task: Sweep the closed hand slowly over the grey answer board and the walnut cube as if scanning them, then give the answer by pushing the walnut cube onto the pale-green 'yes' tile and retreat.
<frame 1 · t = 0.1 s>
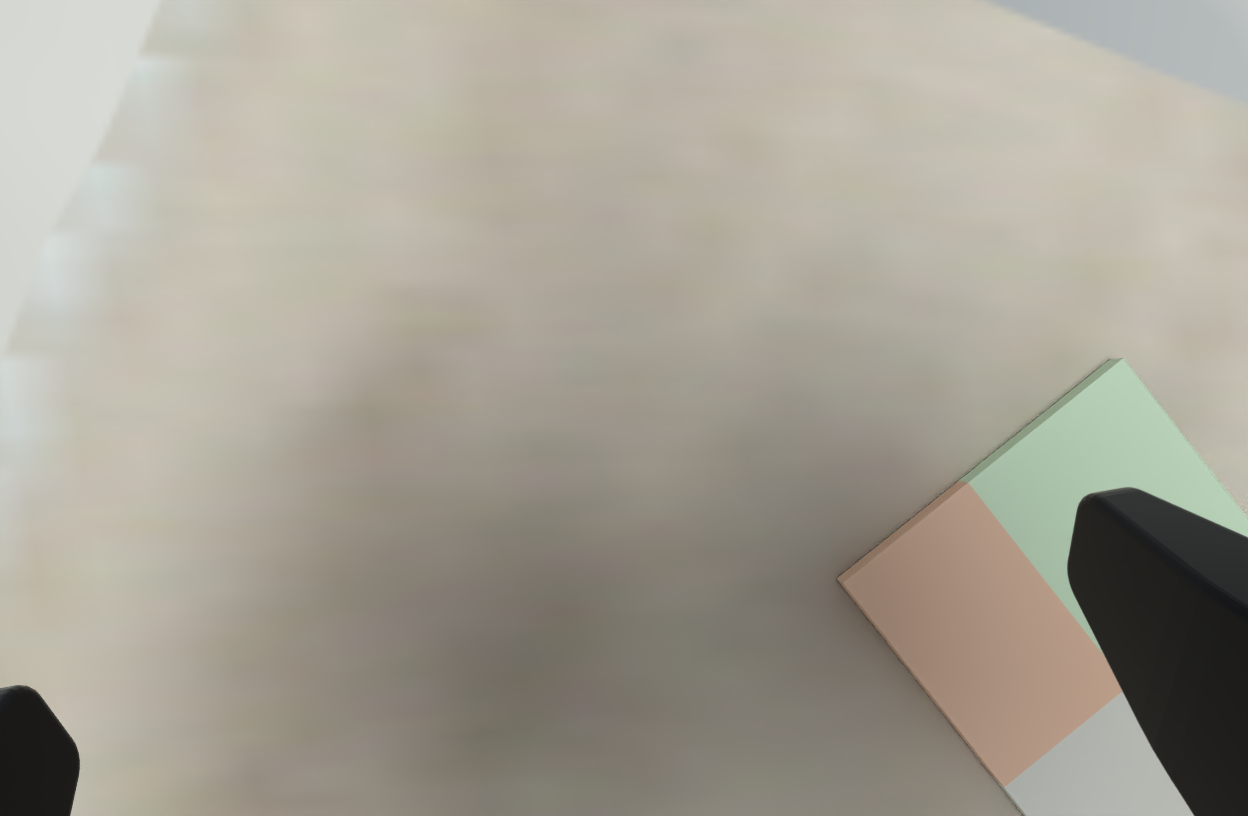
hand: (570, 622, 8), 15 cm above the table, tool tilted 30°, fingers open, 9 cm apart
answer board: (1129, 667, 23), on the table
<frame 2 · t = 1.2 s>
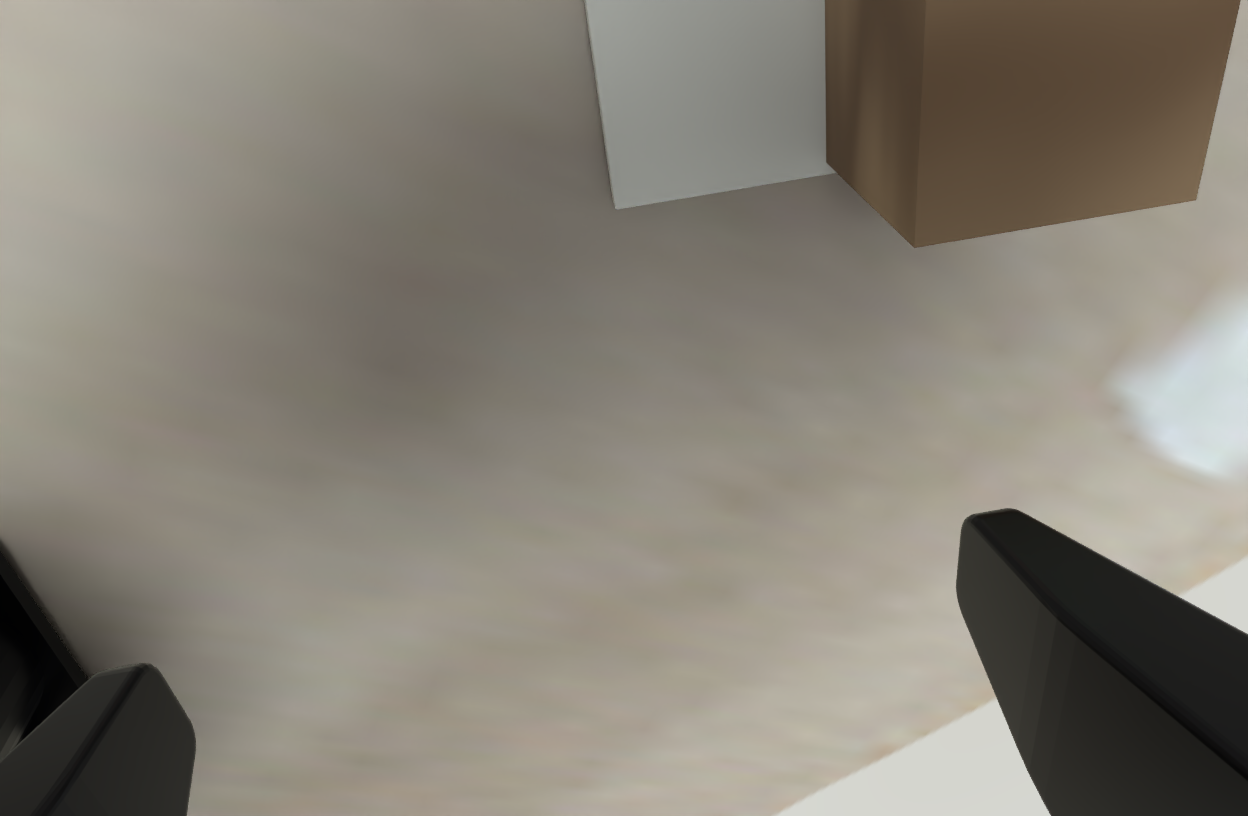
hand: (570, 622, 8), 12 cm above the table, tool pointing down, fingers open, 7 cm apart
walnut cube: (944, 22, 16), point 1 cm above the table, touching answer board
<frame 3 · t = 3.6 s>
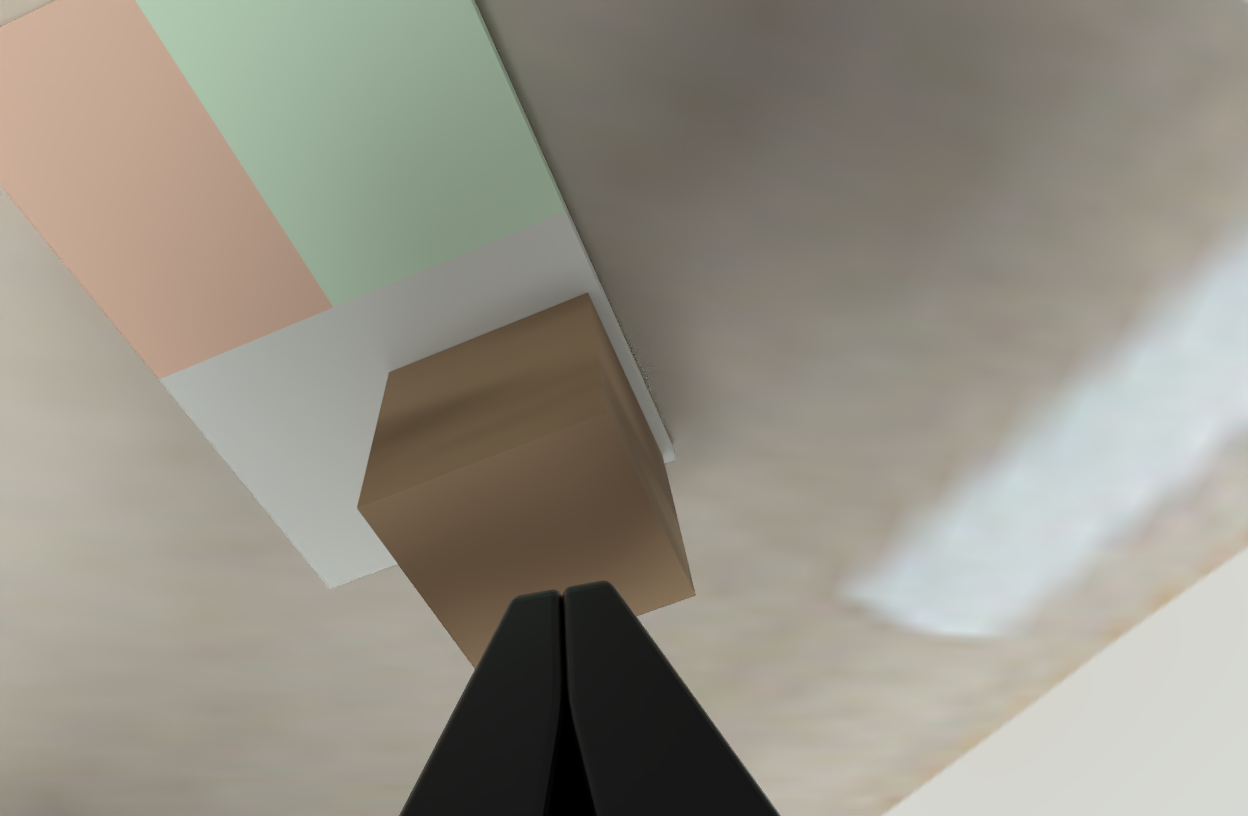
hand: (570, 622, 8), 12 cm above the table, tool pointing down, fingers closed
walnut cube: (532, 415, 20), point 1 cm above the table, touching answer board
answer board: (360, 285, 18), on the table
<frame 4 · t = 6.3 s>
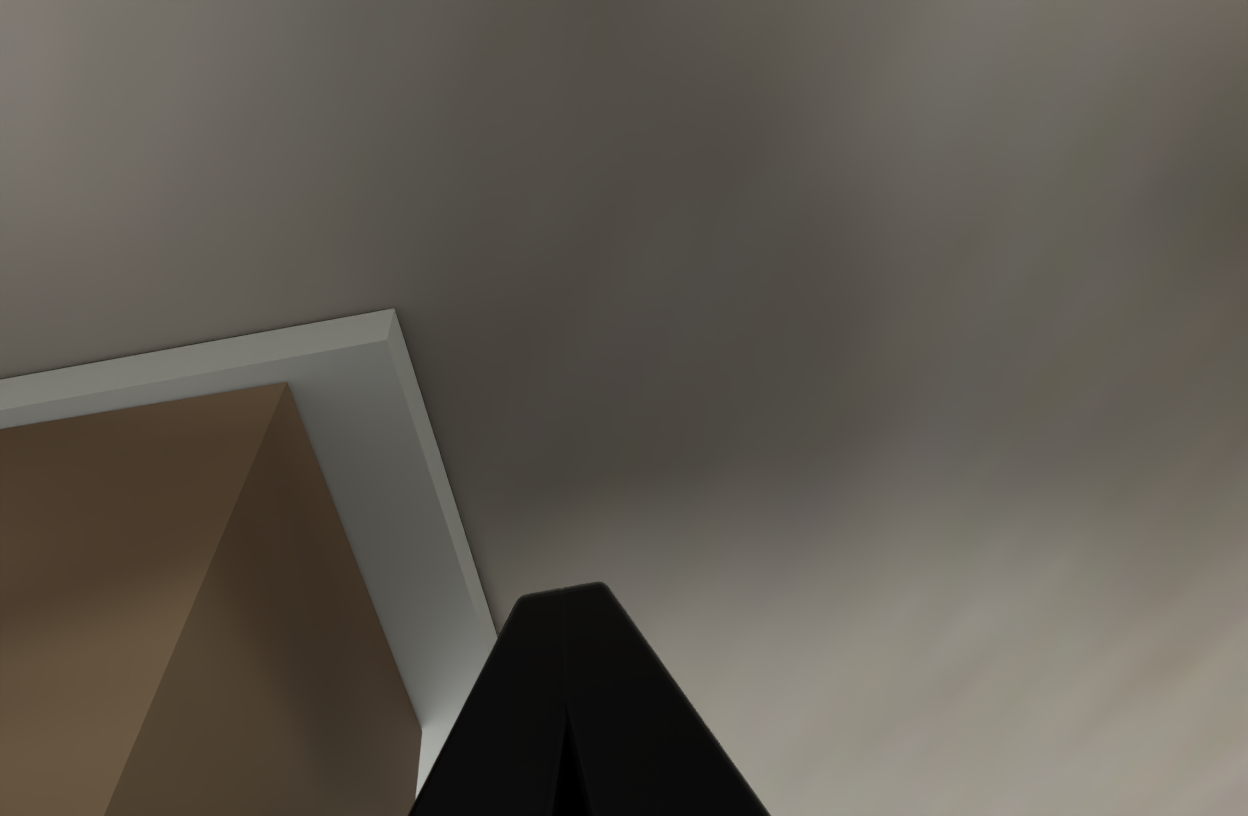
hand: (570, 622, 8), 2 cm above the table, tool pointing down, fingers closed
walnut cube: (130, 621, 9), point 1 cm above the table, touching gripper
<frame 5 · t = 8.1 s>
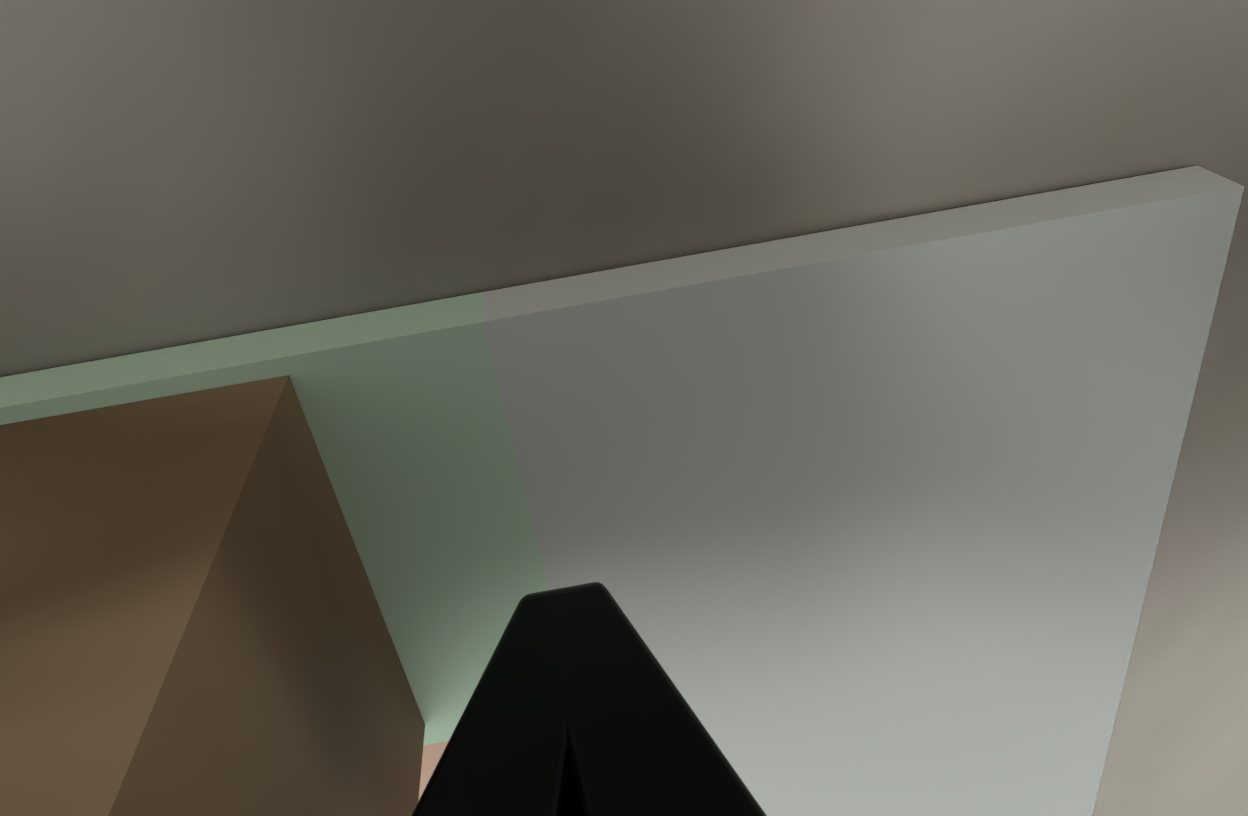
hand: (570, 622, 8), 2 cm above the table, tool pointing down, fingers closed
walnut cube: (133, 616, 9), point 1 cm above the table, touching answer board, gripper
answer board: (570, 645, 10), on the table
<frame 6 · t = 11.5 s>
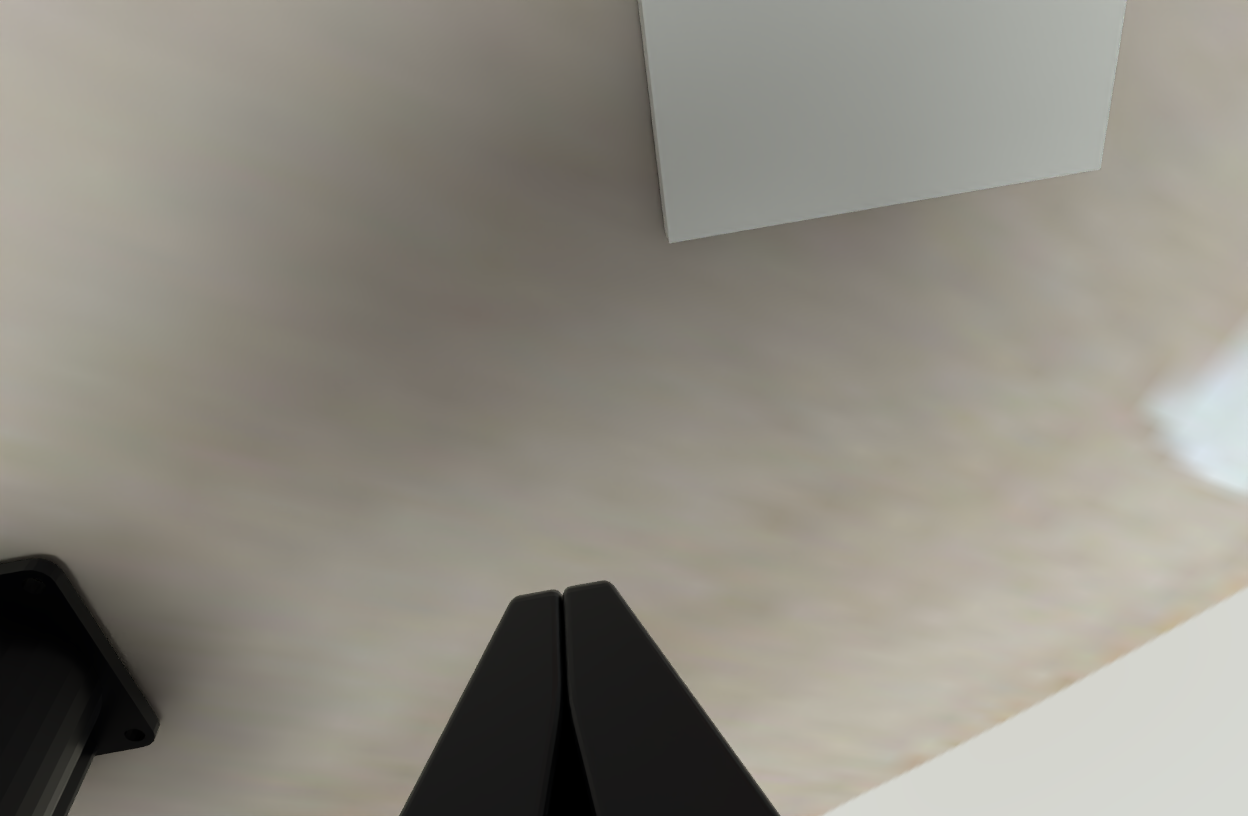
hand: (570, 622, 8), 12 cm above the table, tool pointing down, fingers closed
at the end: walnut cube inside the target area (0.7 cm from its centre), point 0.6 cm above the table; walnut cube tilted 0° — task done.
